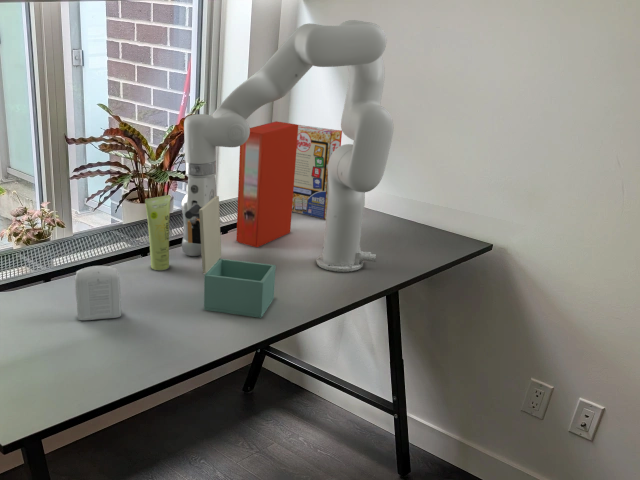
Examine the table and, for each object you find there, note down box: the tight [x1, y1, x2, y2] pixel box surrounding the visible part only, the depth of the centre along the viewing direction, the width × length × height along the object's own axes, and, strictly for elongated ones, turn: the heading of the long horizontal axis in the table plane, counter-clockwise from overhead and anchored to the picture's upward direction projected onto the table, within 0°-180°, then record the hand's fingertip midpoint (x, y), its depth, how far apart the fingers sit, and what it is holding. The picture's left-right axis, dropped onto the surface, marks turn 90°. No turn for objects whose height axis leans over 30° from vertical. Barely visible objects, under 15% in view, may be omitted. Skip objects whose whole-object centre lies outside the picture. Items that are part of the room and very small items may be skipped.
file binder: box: [235, 120, 299, 248], centre depth 212 cm, size 8×17×32 cm, turn 140°
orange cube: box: [187, 219, 200, 243], centre depth 187 cm, size 6×5×6 cm
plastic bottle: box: [180, 182, 202, 257], centre depth 202 cm, size 6×7×20 cm
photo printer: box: [74, 265, 122, 321], centre depth 167 cm, size 10×4×12 cm, turn 103°
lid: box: [185, 195, 222, 274], centre depth 171 cm, size 15×12×5 cm
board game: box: [292, 124, 343, 220], centre depth 236 cm, size 20×6×27 cm, turn 46°
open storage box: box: [203, 258, 277, 319], centre depth 174 cm, size 14×12×9 cm
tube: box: [144, 194, 171, 271], centre depth 193 cm, size 6×5×20 cm
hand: (202, 239), depth 188 cm, fingers closed on orange cube, 4 cm apart
